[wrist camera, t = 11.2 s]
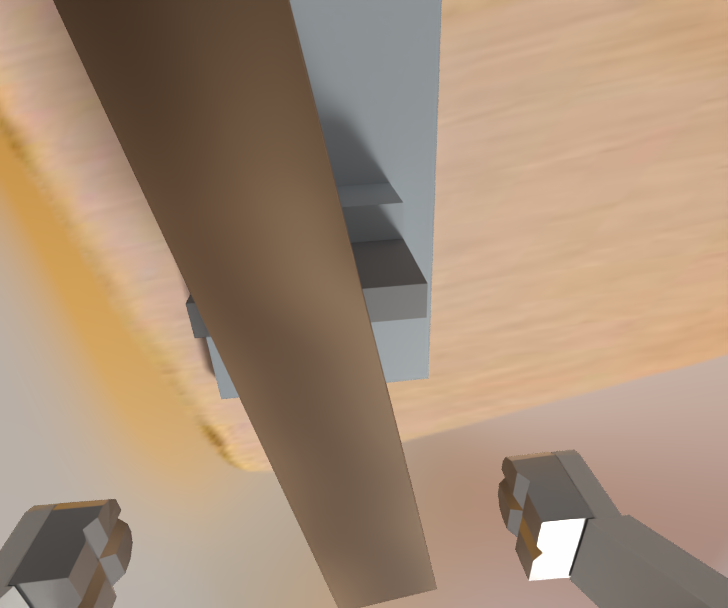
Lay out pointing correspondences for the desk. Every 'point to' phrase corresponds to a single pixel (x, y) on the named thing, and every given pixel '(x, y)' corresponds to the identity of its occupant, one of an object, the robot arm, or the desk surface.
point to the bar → (265, 262)
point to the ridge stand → (376, 161)
